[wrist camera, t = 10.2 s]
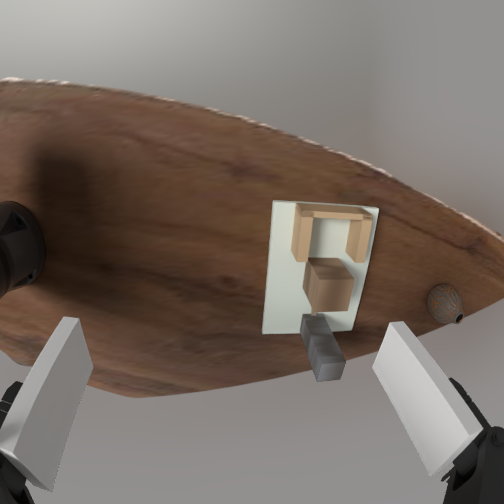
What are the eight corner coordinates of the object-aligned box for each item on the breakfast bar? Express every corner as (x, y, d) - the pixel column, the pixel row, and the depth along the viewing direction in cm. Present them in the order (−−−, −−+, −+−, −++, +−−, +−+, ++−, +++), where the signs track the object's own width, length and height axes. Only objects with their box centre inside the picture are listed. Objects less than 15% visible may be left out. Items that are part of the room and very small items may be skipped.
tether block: (295, 331, 49) (311, 382, 38) (306, 257, 44) (331, 300, 33) (323, 329, 50) (344, 378, 39) (337, 257, 45) (369, 298, 34)
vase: (416, 309, 52) (439, 335, 44) (429, 277, 49) (455, 301, 41) (440, 309, 53) (462, 333, 45) (452, 280, 50) (478, 302, 42)
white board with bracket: (261, 330, 50) (265, 349, 45) (272, 200, 42) (278, 209, 37) (349, 327, 51) (359, 344, 47) (376, 207, 43) (391, 216, 38)
